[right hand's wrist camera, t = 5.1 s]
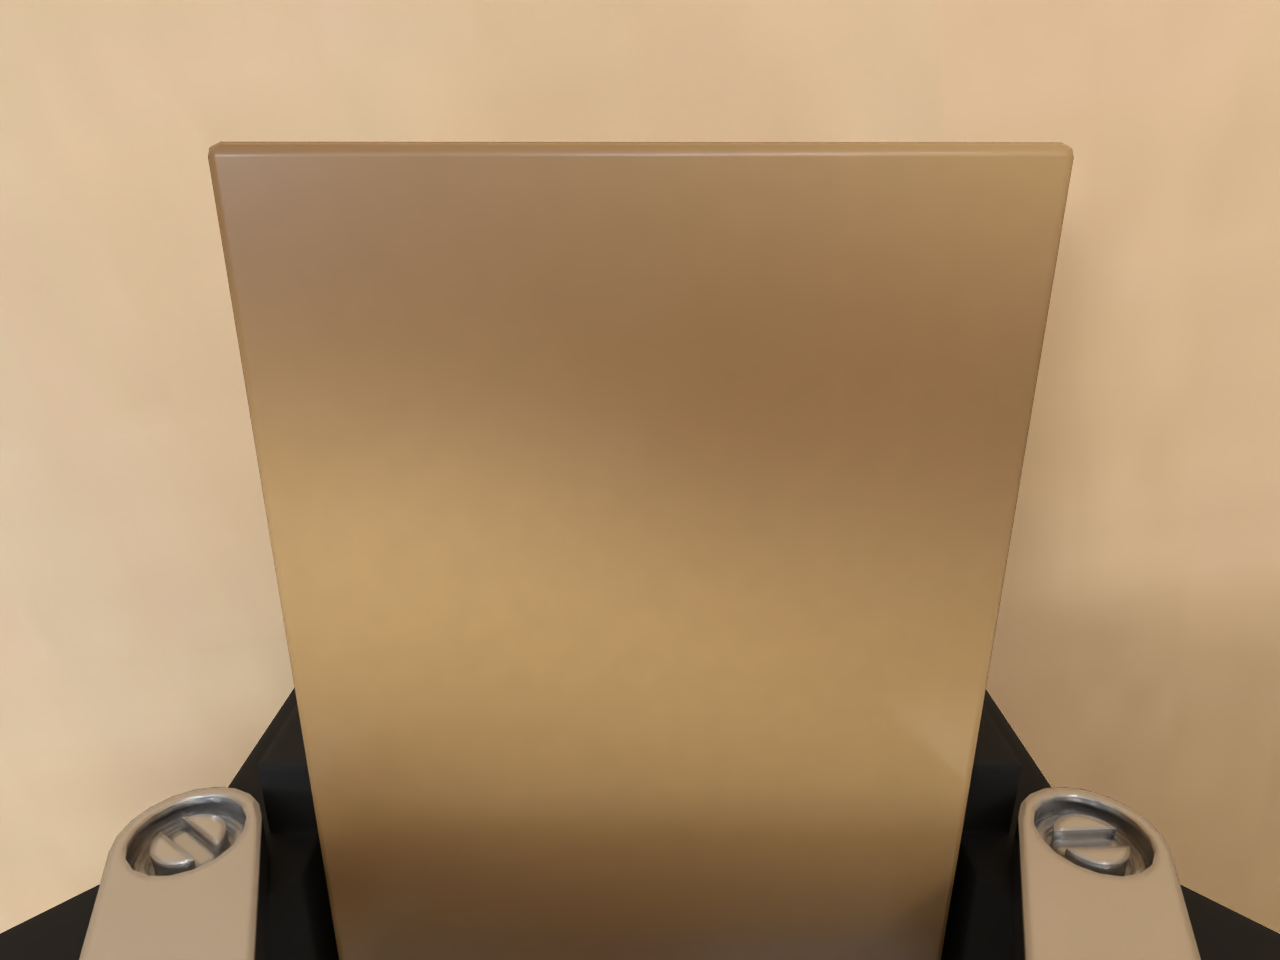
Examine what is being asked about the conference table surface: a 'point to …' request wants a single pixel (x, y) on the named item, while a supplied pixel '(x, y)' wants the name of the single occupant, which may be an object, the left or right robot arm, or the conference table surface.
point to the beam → (640, 526)
